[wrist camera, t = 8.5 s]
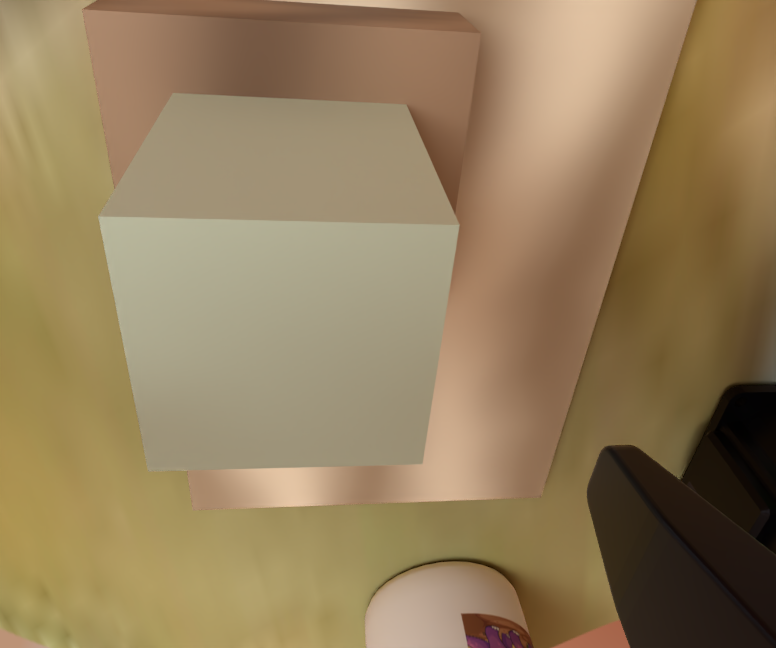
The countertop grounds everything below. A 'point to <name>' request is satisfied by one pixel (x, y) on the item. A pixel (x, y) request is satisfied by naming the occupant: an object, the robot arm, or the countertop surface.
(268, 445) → the top block
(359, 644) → the countertop surface
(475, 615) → the milk bottle
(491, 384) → the board
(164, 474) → the countertop surface
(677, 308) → the countertop surface
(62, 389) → the countertop surface
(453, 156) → the base block
